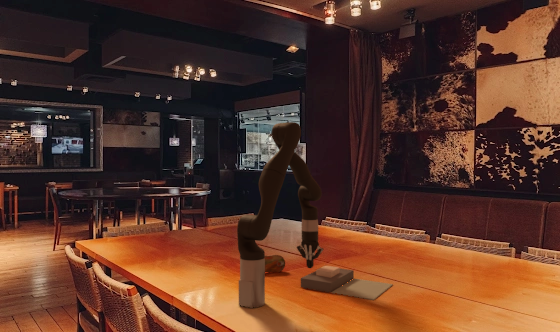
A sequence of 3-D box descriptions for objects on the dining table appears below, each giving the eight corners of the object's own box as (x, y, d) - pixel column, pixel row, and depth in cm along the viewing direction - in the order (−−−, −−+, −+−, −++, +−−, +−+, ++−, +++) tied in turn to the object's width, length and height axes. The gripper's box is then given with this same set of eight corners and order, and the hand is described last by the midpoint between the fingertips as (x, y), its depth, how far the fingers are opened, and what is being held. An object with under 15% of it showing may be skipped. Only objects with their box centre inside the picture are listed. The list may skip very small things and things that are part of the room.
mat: (373, 300, 164) (373, 299, 164) (331, 292, 174) (331, 291, 174) (392, 285, 185) (392, 284, 185) (354, 279, 194) (354, 278, 194)
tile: (330, 277, 182) (330, 271, 182) (316, 275, 186) (316, 269, 186) (339, 272, 190) (339, 267, 190) (325, 270, 193) (325, 265, 193)
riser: (330, 292, 174) (330, 282, 174) (300, 287, 181) (300, 278, 181) (353, 279, 194) (353, 270, 194) (325, 274, 202) (325, 266, 201)
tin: (254, 274, 203) (254, 256, 203) (253, 272, 206) (253, 255, 206) (285, 272, 207) (285, 254, 207) (283, 270, 210) (283, 253, 210)
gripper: (292, 229, 193) (293, 267, 193) (319, 231, 186) (319, 271, 186) (301, 227, 199) (301, 264, 199) (326, 229, 192) (327, 267, 192)
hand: (310, 267), depth 193 cm, fingers closed
